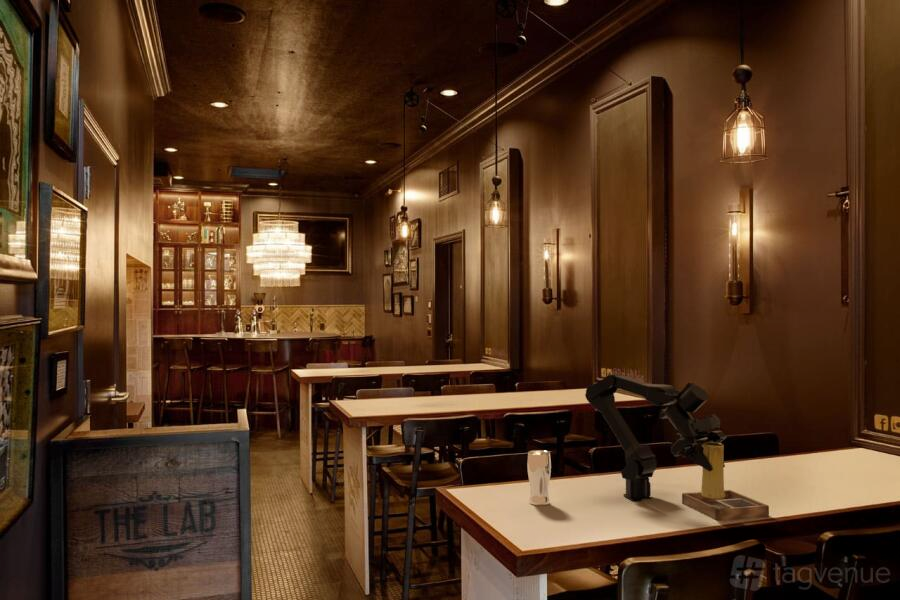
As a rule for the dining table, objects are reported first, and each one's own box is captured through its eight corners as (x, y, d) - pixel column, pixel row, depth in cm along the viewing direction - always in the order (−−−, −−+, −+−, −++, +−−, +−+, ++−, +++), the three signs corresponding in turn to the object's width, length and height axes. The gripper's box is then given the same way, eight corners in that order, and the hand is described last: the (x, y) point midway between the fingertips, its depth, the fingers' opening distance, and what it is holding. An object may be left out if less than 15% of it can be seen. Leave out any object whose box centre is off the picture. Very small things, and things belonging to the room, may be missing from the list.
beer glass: (532, 507, 197) (532, 455, 197) (524, 500, 203) (523, 450, 204) (554, 505, 199) (554, 454, 199) (545, 498, 205) (545, 449, 206)
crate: (717, 522, 182) (717, 509, 182) (682, 505, 198) (682, 493, 198) (768, 518, 185) (768, 505, 185) (730, 501, 202) (730, 489, 202)
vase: (713, 491, 189) (713, 440, 189) (729, 497, 184) (730, 445, 184) (696, 493, 187) (696, 442, 187) (712, 500, 181) (713, 447, 181)
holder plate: (734, 518, 184) (734, 509, 184) (714, 508, 193) (714, 500, 193) (763, 515, 186) (763, 506, 186) (742, 506, 195) (742, 498, 195)
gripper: (680, 408, 183) (716, 456, 174) (720, 402, 194) (756, 448, 185) (656, 432, 189) (689, 480, 180) (696, 425, 200) (729, 470, 191)
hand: (717, 469), depth 184 cm, fingers closed on vase, 5 cm apart
